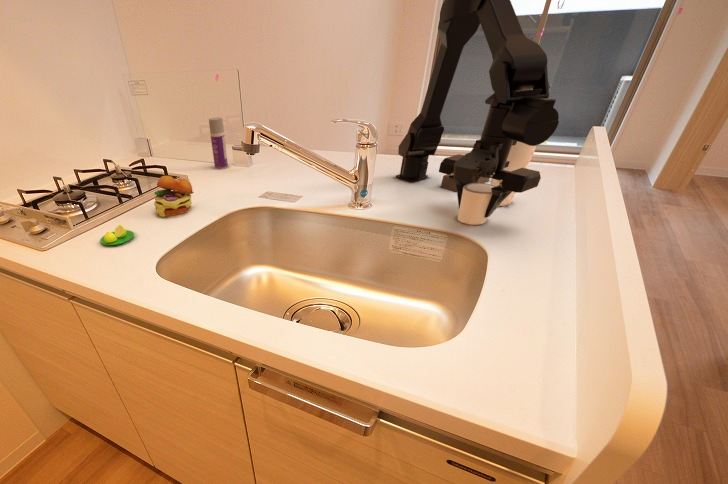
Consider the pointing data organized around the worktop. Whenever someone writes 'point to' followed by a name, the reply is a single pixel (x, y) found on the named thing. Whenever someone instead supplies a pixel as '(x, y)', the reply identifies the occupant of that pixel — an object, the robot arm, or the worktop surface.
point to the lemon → (117, 236)
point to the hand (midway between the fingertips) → (473, 212)
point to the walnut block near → (448, 183)
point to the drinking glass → (516, 164)
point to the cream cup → (474, 203)
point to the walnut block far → (482, 180)
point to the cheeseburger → (173, 196)
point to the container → (218, 142)
